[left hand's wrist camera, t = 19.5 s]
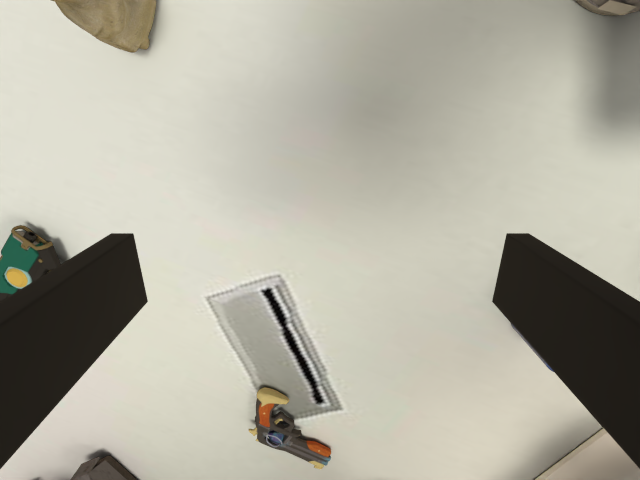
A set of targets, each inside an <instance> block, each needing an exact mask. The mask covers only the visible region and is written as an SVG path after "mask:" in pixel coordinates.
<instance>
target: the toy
mask: <svg viewBox="0 0 640 480" xmlns="http://www.w3.org/2000/svg"><path fill="white" fill-rule="evenodd" d="M99 459H100V457H97V458H94V459H92V460H90V461H88V462H85V463H83V464H81V466H80V467H79V469H78V470H77V471H76V473H75V474H74V476H73V477H72V479H71V480H137V479H136V478H135V477H133V476H132V475H131V474H130V473H129V472H128V471H127V470H126V469H125V468H123V467H122V466H121V465H120V464H119V463H118V462H117V461H116V460H115V459H114V458H112V457H111V456H107V457H104V458H102V459H100V460H99Z"/></svg>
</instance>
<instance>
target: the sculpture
mask: <svg viewBox="0 0 640 480" xmlns="http://www.w3.org/2000/svg"><path fill="white" fill-rule="evenodd" d="M52 1H55V2H56V4H57V6H58V7H59V8H60V10H61V11H62V13H63V14H64V15H65V16H66V17H67V18H68V19H70V20H71V21H72V22H73V23H75V24H76V25H78V26H79V27H81V28H82V29H84V30H85V31H87V32H88V33H90V34H92V35H93V36H94V37H96V38H97V39H99V40H100V41H102V42H104V43H107V44H109V45H111V46H114V47H116V48H119V49H122V50H125V51H128V52H136V51H137V50H138V48H141V49H148V47H149V43H150V42H149V39H148V35H149V33H150V30H151V27H152V24H153V19H154V14H155V8H156V0H52Z"/></svg>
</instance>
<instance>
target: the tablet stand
mask: <svg viewBox="0 0 640 480" xmlns="http://www.w3.org/2000/svg"><path fill="white" fill-rule="evenodd" d="M535 480H640V469H639V468H638V466H637V465H636V464H635V463H634V462H633V461H632V460H631V459H630V457H629V456H628V455H627V454H626V453H625V452H624V451H623V449H622V448H621V447H620V446H619V445H618V444H617V443H616V441H615V440H614V439H613V438H612V437H611V436H610V435H609V434H608V432H607V431H606V430H605V429H604V428H603V429H602V430H600V431H599V432H598V433H596V434H595V435H594V436H592V437H591V438H590V439H588V440H587V441H586V442H584V443H583V444H582V445H580V446H579V447H578V448H576V449H575V450H574V451H572V452H571V453H570V454H568V455H567V456H566V457H564V458H563V459H562V460H560V461H559V462H558V463H556V464H555V465H554V466H552V467H551V468H550V469H548V470H547V471H546V472H544V473H543V474H542V475H540V476H539V477H538V478H536V479H535Z"/></svg>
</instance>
